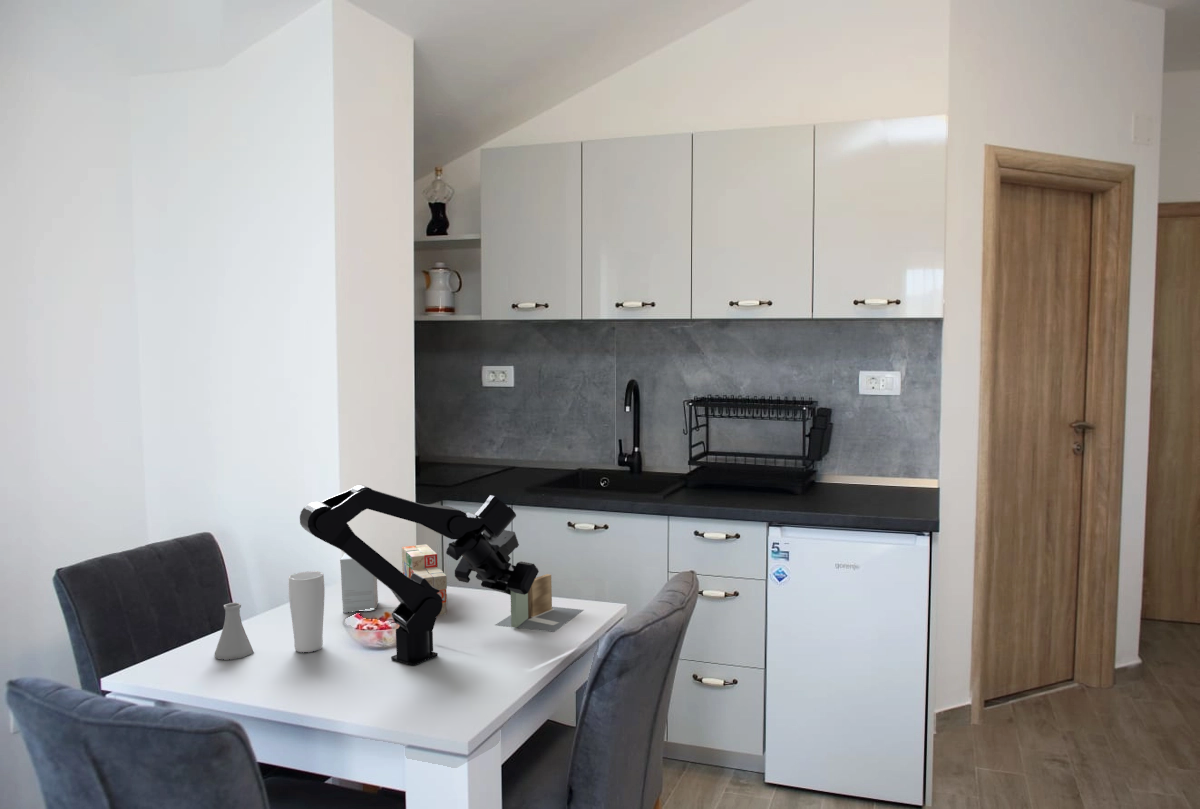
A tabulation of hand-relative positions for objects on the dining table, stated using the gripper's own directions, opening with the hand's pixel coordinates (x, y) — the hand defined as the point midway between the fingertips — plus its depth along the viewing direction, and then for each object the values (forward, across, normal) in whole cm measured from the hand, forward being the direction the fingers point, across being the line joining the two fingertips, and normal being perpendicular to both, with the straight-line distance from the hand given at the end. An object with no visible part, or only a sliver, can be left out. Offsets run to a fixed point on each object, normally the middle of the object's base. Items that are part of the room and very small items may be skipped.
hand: (513, 593), depth 181 cm
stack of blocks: (+8, +29, +4) cm, 30 cm away
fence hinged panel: (+5, -1, +4) cm, 7 cm away
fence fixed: (+11, 0, -1) cm, 11 cm away
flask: (-23, +37, +35) cm, 56 cm away
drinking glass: (-16, +27, +28) cm, 42 cm away
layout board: (+10, -2, 0) cm, 10 cm away
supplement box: (+1, +40, +11) cm, 41 cm away
